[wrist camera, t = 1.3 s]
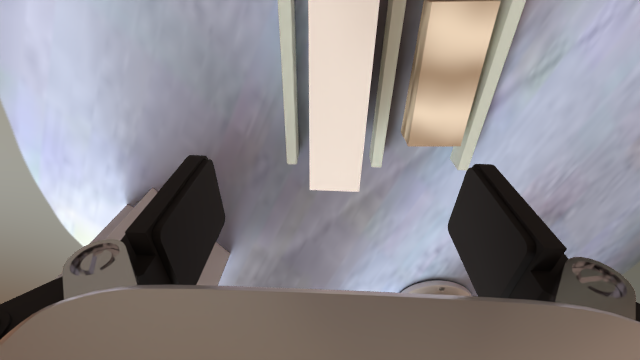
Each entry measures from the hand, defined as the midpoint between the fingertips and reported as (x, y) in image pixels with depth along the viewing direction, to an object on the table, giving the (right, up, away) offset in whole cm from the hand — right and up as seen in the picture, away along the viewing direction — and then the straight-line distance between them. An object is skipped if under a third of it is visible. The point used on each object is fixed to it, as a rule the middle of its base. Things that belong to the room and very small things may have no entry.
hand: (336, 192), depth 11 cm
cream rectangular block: (+1, +11, +17) cm, 20 cm away
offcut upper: (+10, +10, +16) cm, 21 cm away
